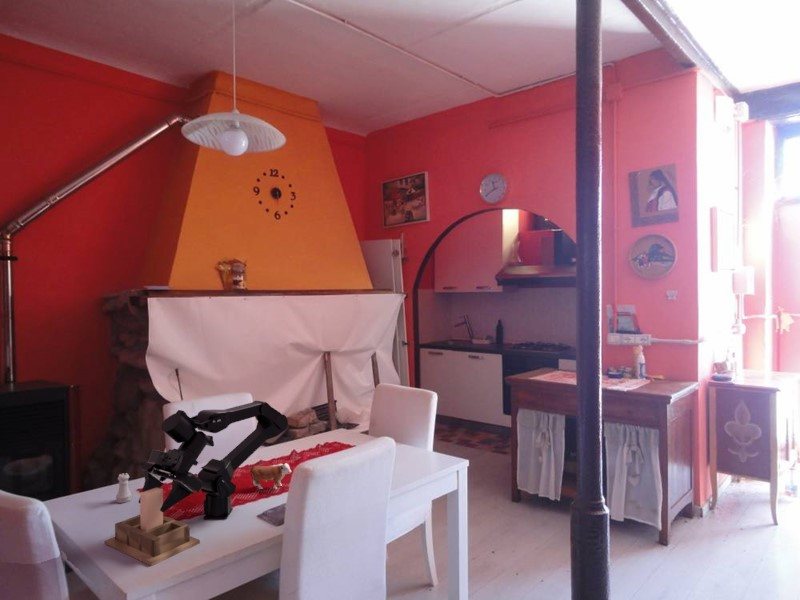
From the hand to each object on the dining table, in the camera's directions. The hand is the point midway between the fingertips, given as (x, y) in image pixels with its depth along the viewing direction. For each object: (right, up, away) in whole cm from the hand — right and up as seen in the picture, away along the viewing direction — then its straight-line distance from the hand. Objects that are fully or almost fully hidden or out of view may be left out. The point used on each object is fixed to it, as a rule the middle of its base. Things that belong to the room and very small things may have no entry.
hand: (150, 507), depth 131 cm
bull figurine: (+21, -9, +38) cm, 44 cm away
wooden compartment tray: (0, -9, 0) cm, 9 cm away
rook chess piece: (-22, -9, +28) cm, 36 cm away
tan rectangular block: (0, -8, 0) cm, 8 cm away
